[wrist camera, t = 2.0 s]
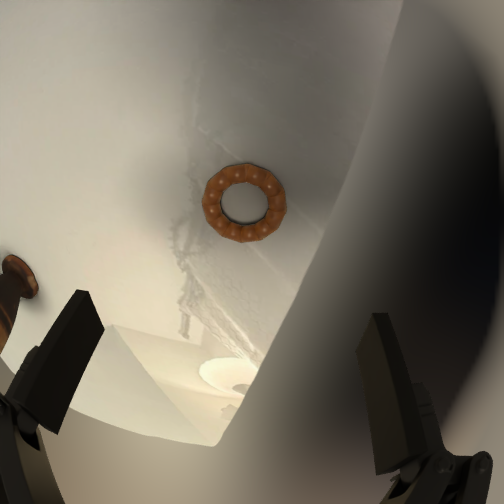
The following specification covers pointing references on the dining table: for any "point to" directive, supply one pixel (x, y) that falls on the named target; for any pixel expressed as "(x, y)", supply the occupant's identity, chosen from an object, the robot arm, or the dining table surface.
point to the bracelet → (253, 177)
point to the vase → (13, 293)
